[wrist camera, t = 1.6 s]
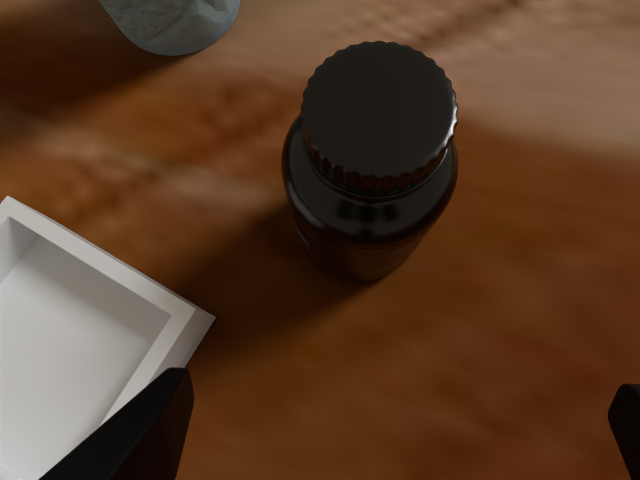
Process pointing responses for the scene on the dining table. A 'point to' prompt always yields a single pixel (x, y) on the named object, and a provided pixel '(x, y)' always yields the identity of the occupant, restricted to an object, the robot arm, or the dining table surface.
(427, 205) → the supplement bottle
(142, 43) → the grey-green cup
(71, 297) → the tray
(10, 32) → the dining table surface
